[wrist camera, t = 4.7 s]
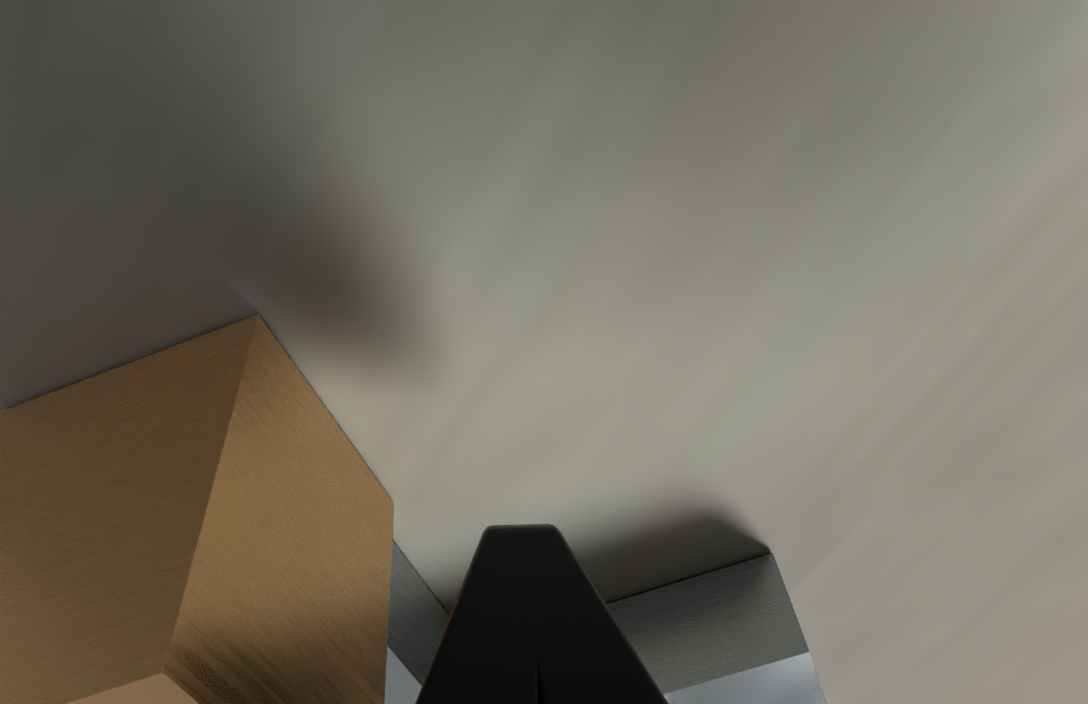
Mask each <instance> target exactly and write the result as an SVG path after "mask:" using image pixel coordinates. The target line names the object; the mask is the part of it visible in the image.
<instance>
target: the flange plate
mask: <svg viewBox="0 0 1088 704" xmlns="http://www.w3.org/2000/svg"><path fill="white" fill-rule="evenodd" d="M393 519H394V503H393V501H392V500H391V499H390V497H389V496H388V494H387V493H386V492H385V490H384V489H383V487H382V486H381V485H380V483H379V482H378V480H377V479H376V478H375V476H374V475H373V473H372V472H371V471H370V469H369V468H368V466H367V465H366V464H365V462H364V461H363V459H362V458H361V457H360V455H359V454H358V452H357V451H356V450H355V448H354V447H353V445H352V444H351V443H350V441H349V440H348V438H347V437H346V436H345V434H344V433H343V431H342V430H341V429H340V427H339V426H338V424H337V423H336V422H335V420H334V419H333V417H332V416H331V415H330V413H329V412H328V410H327V409H326V408H325V406H324V405H323V403H322V402H321V401H320V399H319V398H318V396H317V395H316V394H315V392H314V391H313V389H312V388H311V387H310V385H309V384H308V382H307V381H306V380H305V378H304V377H303V375H302V374H301V373H300V371H299V370H298V368H297V367H296V366H295V364H294V363H293V361H292V360H291V359H290V357H289V356H288V354H287V353H286V352H285V350H284V349H283V347H282V346H281V345H280V343H279V342H278V340H277V339H276V338H275V336H274V335H273V333H272V332H271V331H270V329H269V328H268V326H267V325H266V324H265V322H264V321H263V319H262V318H261V317H260V315H259V314H257V315H255V316H252V317H249V318H247V319H244V320H241V321H239V322H236V323H233V324H231V325H228V326H225V327H223V328H220V329H218V330H215V331H212V332H210V333H207V334H204V335H202V336H199V337H196V338H194V339H191V340H188V341H186V342H183V343H181V344H178V345H175V346H173V347H170V348H167V349H165V350H162V351H159V352H157V353H154V354H151V355H149V356H146V357H144V358H141V359H138V360H136V361H133V362H130V363H128V364H125V365H122V366H120V367H117V368H114V369H112V370H109V371H107V372H104V373H101V374H99V375H96V376H93V377H91V378H88V379H85V380H83V381H80V382H77V383H75V384H72V385H69V386H67V387H64V388H62V389H59V390H56V391H54V392H51V393H48V394H46V395H43V396H40V397H38V398H35V399H32V400H30V401H27V402H25V403H22V404H19V405H17V406H14V407H11V408H9V409H6V410H3V411H1V412H0V704H415V703H416V700H417V697H418V695H419V692H420V690H421V687H422V685H423V682H424V680H425V677H426V675H427V672H428V670H429V667H430V665H431V662H432V660H433V657H434V655H435V652H436V650H437V647H438V645H439V642H440V640H441V637H442V635H443V632H444V629H445V627H446V624H447V622H448V619H449V615H448V614H447V613H446V611H445V610H444V609H443V607H442V606H441V605H440V603H439V602H438V601H437V599H436V598H435V597H434V595H433V594H432V593H431V591H430V590H429V589H428V587H427V586H426V584H425V583H424V582H423V580H422V579H421V578H420V576H419V575H418V574H417V572H416V571H415V570H414V568H413V567H412V566H411V564H410V563H409V562H408V560H407V559H406V558H405V556H404V555H403V554H402V552H401V551H400V550H399V548H398V547H397V546H396V544H395V543H394V541H393ZM606 605H607V607H608V608H609V610H610V611H611V613H612V615H613V616H614V618H615V619H616V621H617V622H618V624H619V626H620V627H621V629H622V630H623V632H624V634H625V635H626V637H627V638H628V640H629V641H630V643H631V645H632V646H633V648H634V649H635V651H636V653H637V654H638V656H639V657H640V659H641V661H642V662H643V664H644V665H645V667H646V668H647V670H648V672H649V673H650V675H651V676H652V678H653V680H654V681H655V683H656V684H657V686H658V688H659V689H660V691H661V692H662V694H663V695H664V697H665V699H666V700H667V702H668V703H669V704H827V703H826V700H825V697H824V694H823V691H822V688H821V685H820V682H819V679H818V676H817V673H816V670H815V667H814V664H813V661H812V658H811V655H810V652H809V649H808V647H807V644H806V641H805V639H804V636H803V633H802V631H801V628H800V625H799V622H798V620H797V617H796V614H795V612H794V609H793V606H792V604H791V601H790V598H789V596H788V593H787V590H786V588H785V585H784V582H783V579H782V577H781V574H780V571H779V569H778V566H777V563H776V561H775V558H774V555H773V553H771V554H768V555H765V556H762V557H758V558H755V559H752V560H749V561H745V562H742V563H739V564H736V565H732V566H729V567H726V568H723V569H719V570H716V571H713V572H710V573H706V574H703V575H700V576H697V577H693V578H690V579H687V580H684V581H680V582H677V583H674V584H671V585H667V586H664V587H661V588H658V589H654V590H651V591H648V592H645V593H641V594H638V595H635V596H632V597H629V598H625V599H622V600H619V601H616V602H612V603H609V604H606Z"/></svg>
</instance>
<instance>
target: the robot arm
mask: <svg viewBox="0 0 1088 704" xmlns="http://www.w3.org/2000/svg"><path fill="white" fill-rule="evenodd" d="M415 704H669V703H668V702H667V700H666V699H665V697H664V695H663V694H662V692H661V691H660V689H659V688H658V686H657V684H656V683H655V681H654V680H653V678H652V676H651V675H650V673H649V672H648V670H647V668H646V667H645V665H644V664H643V662H642V661H641V659H640V657H639V656H638V654H637V653H636V651H635V649H634V648H633V646H632V645H631V643H630V641H629V640H628V638H627V637H626V635H625V634H624V632H623V630H622V629H621V627H620V626H619V624H618V622H617V621H616V619H615V618H614V616H613V615H612V613H611V611H610V610H609V608H608V607H607V605H606V603H605V602H604V600H603V599H602V597H601V595H600V594H599V592H598V591H597V589H596V588H595V586H594V584H593V583H592V581H591V580H590V578H589V576H588V575H587V573H586V572H585V570H584V569H583V567H582V565H581V564H580V562H579V561H578V559H577V557H576V556H575V554H574V553H573V551H572V549H571V548H570V546H569V545H568V543H567V542H566V540H565V538H564V537H563V535H562V534H561V532H560V531H559V530H558V529H557V527H555V526H554V525H551V524H528V525H492V526H489V527H487V528H486V529H485V530H484V532H483V534H482V536H481V539H480V541H479V544H478V546H477V549H476V551H475V554H474V556H473V559H472V561H471V564H470V567H469V569H468V572H467V574H466V577H465V579H464V582H463V584H462V587H461V589H460V592H459V594H458V597H457V599H456V602H455V604H454V607H453V609H452V612H451V614H450V617H449V619H448V622H447V624H446V627H445V629H444V632H443V635H442V637H441V640H440V642H439V645H438V647H437V650H436V652H435V655H434V657H433V660H432V662H431V665H430V667H429V670H428V672H427V675H426V677H425V680H424V682H423V685H422V687H421V690H420V692H419V695H418V697H417V700H416V703H415Z"/></svg>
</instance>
